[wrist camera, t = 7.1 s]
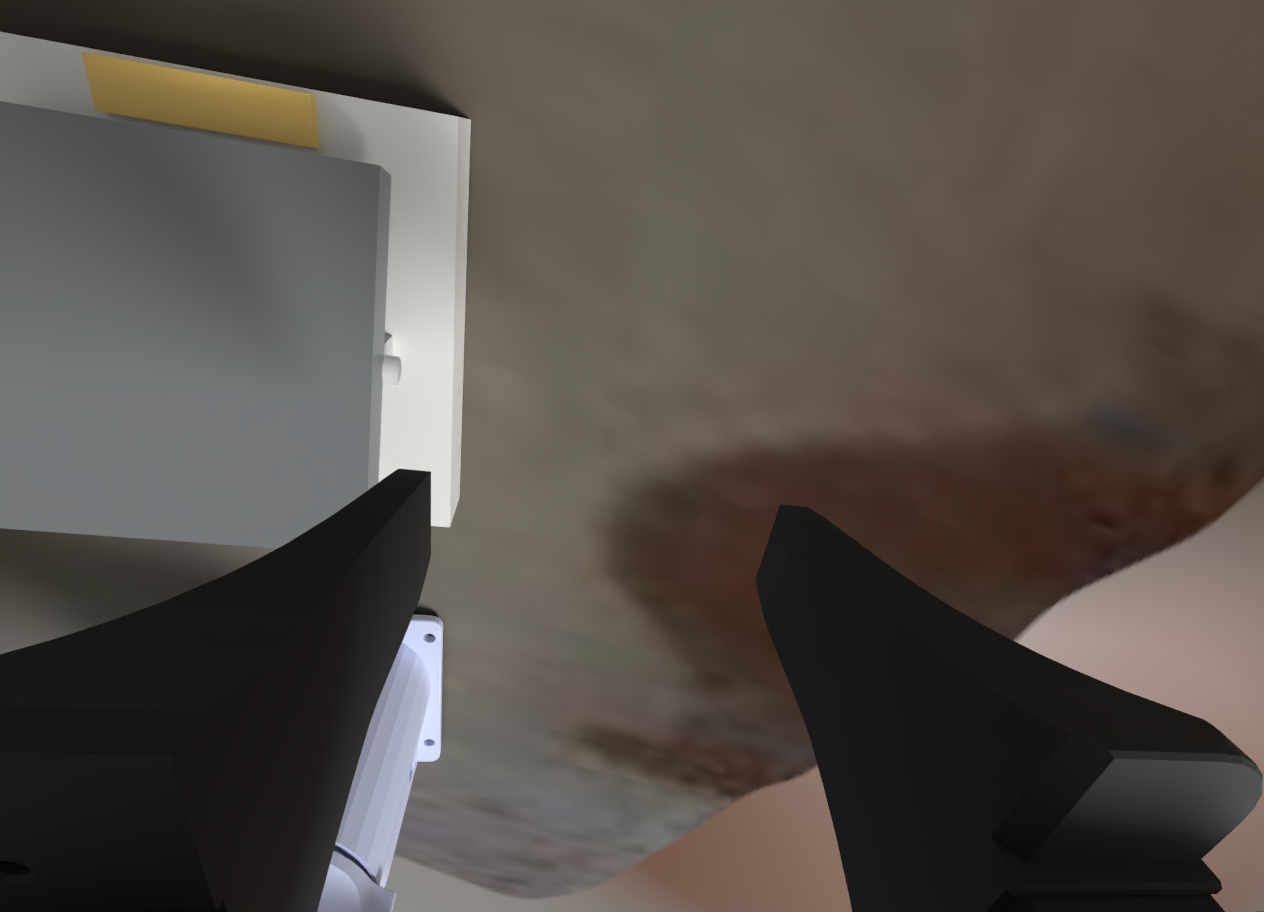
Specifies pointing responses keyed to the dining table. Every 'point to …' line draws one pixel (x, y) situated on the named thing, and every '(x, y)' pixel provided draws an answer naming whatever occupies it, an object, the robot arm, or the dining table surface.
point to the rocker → (186, 332)
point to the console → (334, 127)
